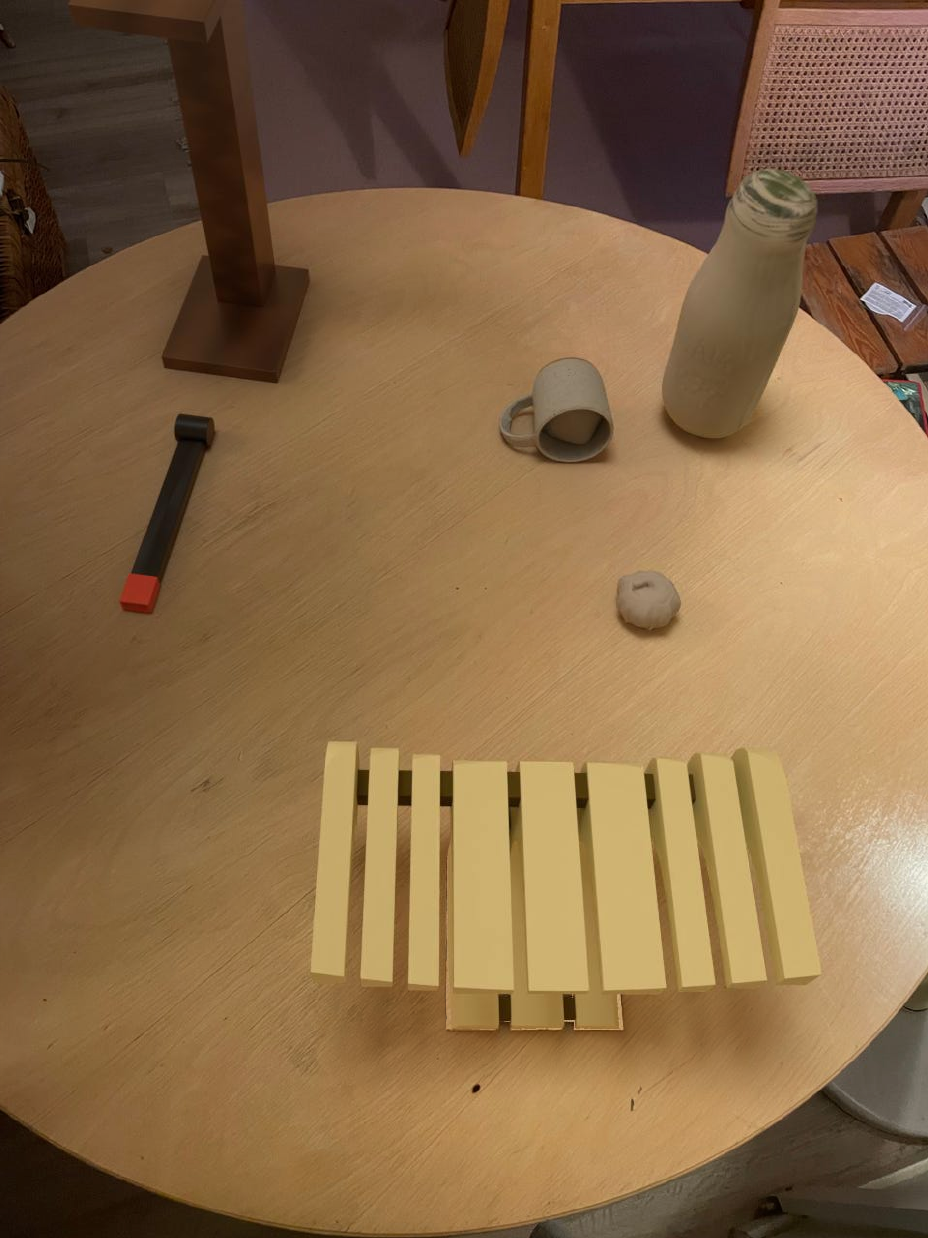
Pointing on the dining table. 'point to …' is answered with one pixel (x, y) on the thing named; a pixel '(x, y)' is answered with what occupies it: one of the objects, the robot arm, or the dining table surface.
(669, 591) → the garlic
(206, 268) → the wooden post stand
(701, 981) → the slatted curved stool
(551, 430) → the ceramic mug
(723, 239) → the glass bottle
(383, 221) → the dining table surface
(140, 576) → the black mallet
